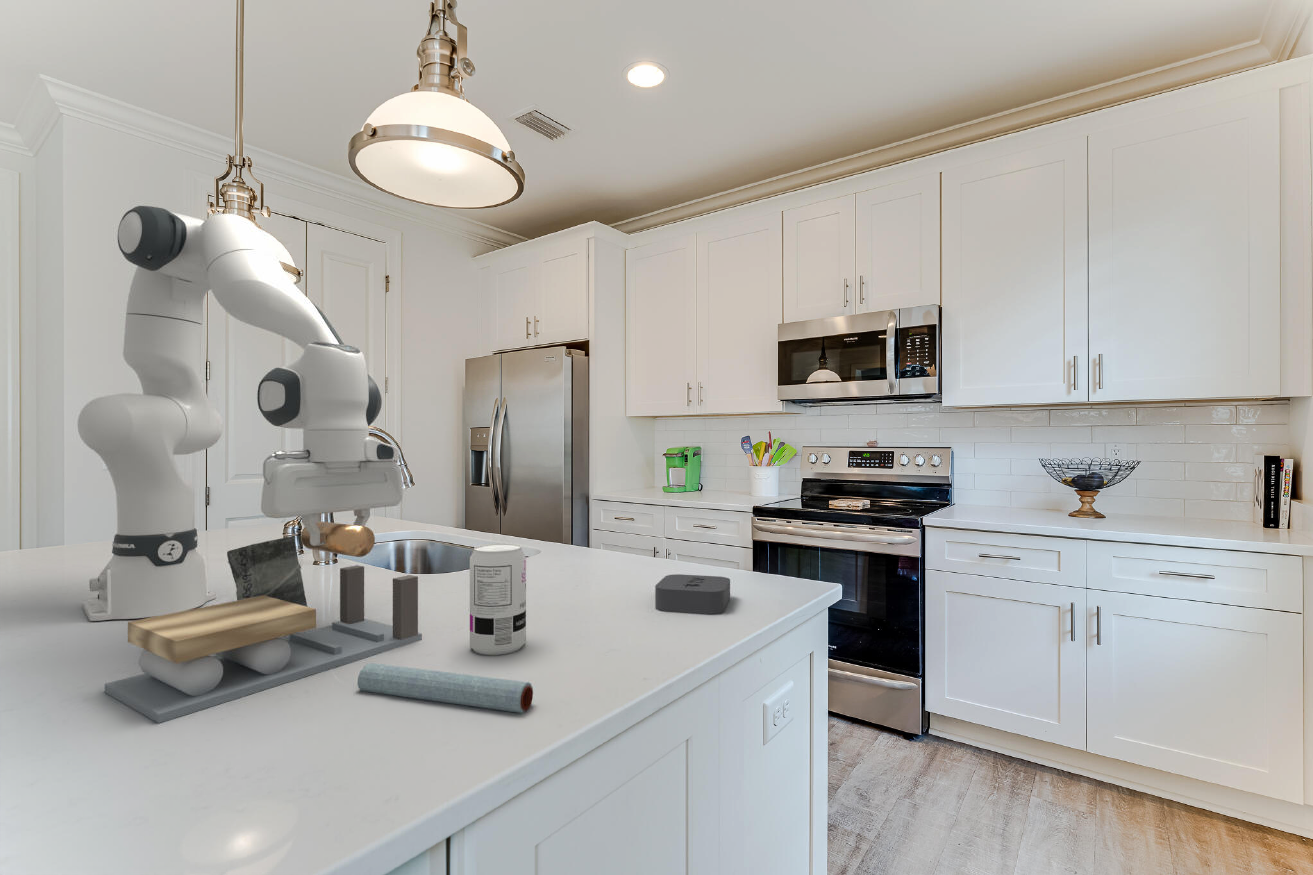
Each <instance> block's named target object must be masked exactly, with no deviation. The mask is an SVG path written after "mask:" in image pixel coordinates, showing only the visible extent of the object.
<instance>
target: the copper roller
mask: <svg viewBox="0 0 1313 875" xmlns="http://www.w3.org/2000/svg"><path fill="white" fill-rule="evenodd" d="M315 523H316V525H317V527H318V528H319V530H320V532H326V538H325V539H326V544H323V545H317V546H314V545H311V544H310V533H309V532H308V531H307V529H306V528H305V526H304V527H303V529H302V530H301V534H300V540H301V543H302V545H303V546H304V547H305V548H307V549H309V550H312V551H313V550H314V551H318V552H319V551H320V552H326V553H331V554H336V555H343V556H350V557H355V558H361V557H364V556H367V555H368V554H370V553H371V551H372V550H373V548H374V545H375V539H376V538H375V533H374V532H373V530H372V529H371V528H369V527H367V526H356V525H354V524H346V523H338V522H329V521H321V520H319V522H315Z"/></svg>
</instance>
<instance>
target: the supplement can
mask: <svg viewBox="0 0 1313 875" xmlns="http://www.w3.org/2000/svg"><path fill="white" fill-rule="evenodd" d="M522 546H523V545H521V544H517V543H505V542H503V543H488V544H481V545H477V546H475V547H474V548H473V551H472V553H471V555H470V556H469V647H470V648H471V649H472V650H473V651H474V652H475V653H476V654H479V655H484V656H501V655H506V654H510V653H515V652H517V651H518V650H520V649H521V648H522V647H523V645H524V644H526V642H527V556H526V554H525V553H524V550H523V548H522Z"/></svg>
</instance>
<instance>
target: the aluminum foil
mask: <svg viewBox="0 0 1313 875" xmlns="http://www.w3.org/2000/svg"><path fill="white" fill-rule="evenodd" d="M357 688H358V689H359V691H361V692H367V693H369V692H371V693H376V694H383V695H390V696H391V695H392V696H397V697H404V698H410V699H417V700H425V701H433V702H439V703H446V704H447V703H448V704H451V705H452V704H454V705H460V706H461V705H462V706H468V707H476V708H481V709H482V708H483V709H488V710H496V711H503V712H511V713H517V714H523V713H524V712H525V711H527V710H529V708H530V707H531V705H532V702H533V696H534V689H533V685H532V683H530V682H529V681H528V682H527V681H520V680H512V679H505V678H498V677H497V678H495V677H489V676H488V677H487V676H479V675H471V674H462V673H456V672H447V671H437V670H432V669H431V670H430V669H423V668H415V667H408V666H398V665H392V664H391V665H390V664H385V663H384V664H382V663H373V662H369V663H366V664H365V665H363V667H362V668H361V670H360V672H359V674H358V677H357Z"/></svg>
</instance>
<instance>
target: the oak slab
mask: <svg viewBox="0 0 1313 875" xmlns="http://www.w3.org/2000/svg"><path fill="white" fill-rule="evenodd" d="M316 628H317V609H316V608H313V607H309V606H307V607H306V606H302V605H298V604H295V603H291V602H287V601H283V600H279V599H276V598H272V597H268V596H264V595H262V596H257V597H252V598H247V599H242V600H237V599H236V600H233V601H228V602H223V603H218V604H212V605H208V606H202V607H196V608H193V609H190V610H186V611H181V612H176V613H171V614H166V615H161V616H154V617H145V618H140V619H137V620H131V621H128V622H127V643H129V644H131V645H133V646H136V647H138V648H141V649H142V650H144V649H145V650H147V651H149V652H152V653H154V654H156V655H158V656H161V657H163V658H165V659H167V660H170V661H172V662H174V663H180V662H184V661H187V660H191V659H195V658H199V657H203V656H207V655H209V656H212V655H216V654H215V653H219V652H223V651H227V650H231V649H235V648H238V647H242V646H246V645H250V644H254V643H258V642H262V641H266V640H270V639H274V638H281V637H282V638H283V637H284V636H285V637H286V636H289V634H293V633H297V632H298V633H302V632H306V631H308V630H309V631H310V630H314V629H316Z"/></svg>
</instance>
